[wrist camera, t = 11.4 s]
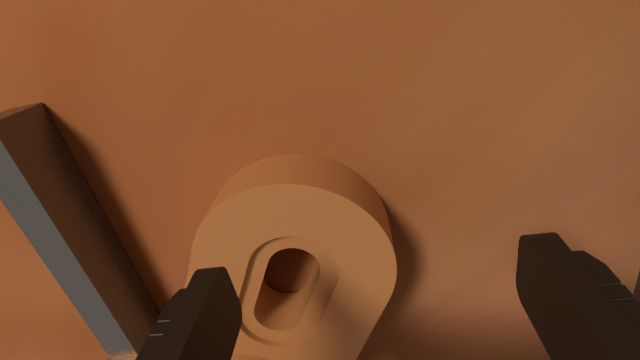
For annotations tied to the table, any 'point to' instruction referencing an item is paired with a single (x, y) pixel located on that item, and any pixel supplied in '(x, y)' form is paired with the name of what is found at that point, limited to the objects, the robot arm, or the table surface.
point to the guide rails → (75, 232)
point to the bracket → (307, 234)
